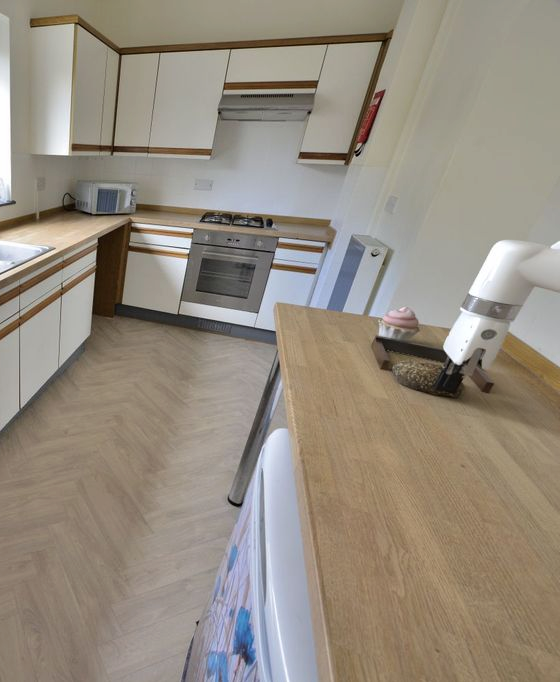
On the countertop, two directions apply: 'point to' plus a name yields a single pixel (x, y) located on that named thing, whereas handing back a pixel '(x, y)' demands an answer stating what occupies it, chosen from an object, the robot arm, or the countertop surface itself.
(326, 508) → the countertop surface
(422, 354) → the frame
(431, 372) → the bread roll
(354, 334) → the countertop surface
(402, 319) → the cupcake
